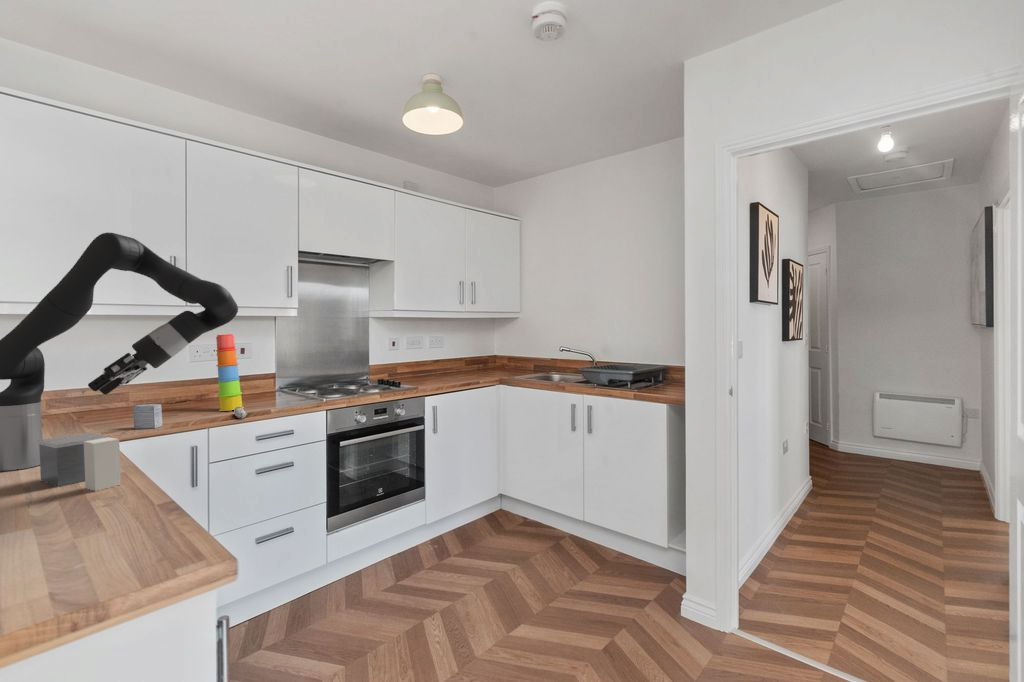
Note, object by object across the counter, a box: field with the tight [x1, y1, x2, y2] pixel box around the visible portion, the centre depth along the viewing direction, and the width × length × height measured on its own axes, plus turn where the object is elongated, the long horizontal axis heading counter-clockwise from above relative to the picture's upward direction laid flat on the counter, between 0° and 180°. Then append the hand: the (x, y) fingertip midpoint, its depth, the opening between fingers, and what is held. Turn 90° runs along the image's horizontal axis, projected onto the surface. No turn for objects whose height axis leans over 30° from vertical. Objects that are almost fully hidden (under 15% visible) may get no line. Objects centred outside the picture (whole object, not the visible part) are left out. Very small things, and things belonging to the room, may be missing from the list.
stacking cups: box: [215, 333, 245, 410], centre depth 232 cm, size 10×10×35 cm
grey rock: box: [233, 404, 247, 420], centre depth 214 cm, size 18×5×6 cm, turn 34°
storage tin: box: [38, 432, 109, 487], centre depth 127 cm, size 10×10×10 cm
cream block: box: [84, 436, 122, 492], centre depth 119 cm, size 5×5×11 cm
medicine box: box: [132, 403, 163, 430], centre depth 193 cm, size 8×4×9 cm, turn 92°
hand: (96, 390), depth 118 cm, fingers open, 8 cm apart
